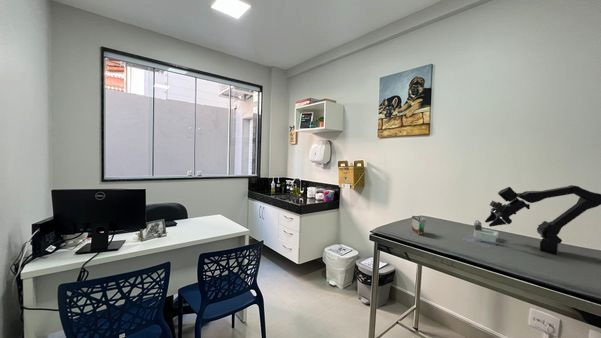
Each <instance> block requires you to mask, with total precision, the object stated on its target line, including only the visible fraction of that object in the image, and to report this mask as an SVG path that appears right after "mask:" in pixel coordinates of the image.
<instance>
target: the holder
mask: <svg viewBox="0 0 601 338" xmlns="http://www.w3.org/2000/svg"><path fill="white" fill-rule="evenodd" d="M498 238H499V231H495V230H489V229H484V228H482V229H481V239H483V240H488V241H492V242H496V240H497V239H498Z"/></svg>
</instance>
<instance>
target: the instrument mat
mask: <svg viewBox="0 0 601 338" xmlns="http://www.w3.org/2000/svg"><path fill="white" fill-rule="evenodd" d="M473 239H474V232H473V233H471V234H470V233H469V234H468V235H465V236H462V237H460V238H458V239H457V240H458V241H462V242H466V243H469V244H472V245H477V246H480V247H483V248H487V249H490V248H492V247H493V246H495V245H497V244H500V243H502V242H504V241H506V238H503V237H498V239H497V240H496V242H492V241H488V240H483V239H481V240H480V242H476V241H474V240H473Z"/></svg>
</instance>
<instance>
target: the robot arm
mask: <svg viewBox="0 0 601 338" xmlns="http://www.w3.org/2000/svg"><path fill="white" fill-rule="evenodd" d="M497 195H498V196H500V197H501V198H502V199H503V201H505V202H509V203H507V204H505V203H504V204H503V203H502V202H499V201H494V200H491V202H490V203H489V206H490V207H491V208H490V214H489V215H488V217H486V219H485V220H484V222H485V223H486V224H487V223H489V224H488V226H489V227H492V228H493V227H496V226H503V225H504V226H505V225H511V224H512V223H513V221H512V218H510V217H511V216H513V215H517V213H518V212H520V211H521V210H522V209H524V208H525V209H527V210H530V209H531V204H534V203H538V202H541V201H543V200H545V199H550V198H555V197H561V196H562V197H563V196H567V195H575V196H577V197H579V198H578V200H577V202H576V203H575V204H573V205H572V206H570V208H568V209H566V211H564V212H563V213H561V214H560V215H559V216H557V217H556V218H555V219H553V220H551V221H547V220H544V221H542V222H541V223H540V224H537V228H536V232H537V234H539V235H540V237H541V238H542V239H541V240H540V241H539V251H541V252H545V253H549V254H552V255H558V254H559V253H560V251H559V250H560V244H561V243H562V241H563V240H562V238H560V237H559V236H558V235H559V234H560V232H561V229H563V227H565V226H567V224H569V223H570V222H572V221H573V220H575V219H576V218H577V217H579V216H581V215H582V214H583V213H585V212H587V211H588V210H590V209H594V208H597V207H599V206H601V193H598V192H593V191H589V190H587V189H584V188H582V187H580V186H577V185H573V184H571V185H567V186H561V187H556V188H550V189H545V190H525V191H523V192H519V193H518V192H516V191H514V190H513V188H512V187H511V186H507V187H505V188H502V189H501V190H499V191H498V192H497Z"/></svg>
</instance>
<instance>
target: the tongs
mask: <svg viewBox="0 0 601 338" xmlns="http://www.w3.org/2000/svg"><path fill="white" fill-rule="evenodd" d="M481 229H483V228H482V222H481V221H479V220H478V219H477V220H475V221H474V222H473V233H474V239H473V240H474V241H476V242H480V240H481Z"/></svg>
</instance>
